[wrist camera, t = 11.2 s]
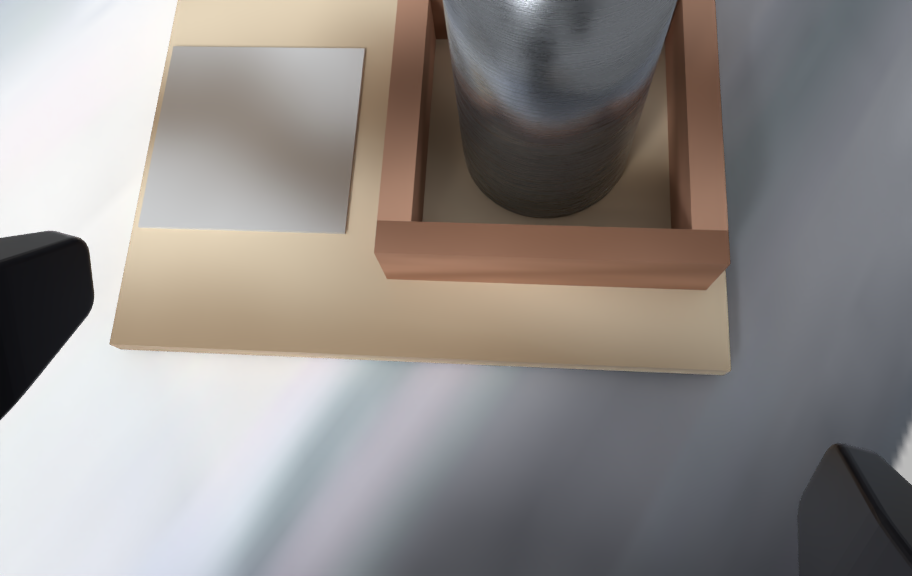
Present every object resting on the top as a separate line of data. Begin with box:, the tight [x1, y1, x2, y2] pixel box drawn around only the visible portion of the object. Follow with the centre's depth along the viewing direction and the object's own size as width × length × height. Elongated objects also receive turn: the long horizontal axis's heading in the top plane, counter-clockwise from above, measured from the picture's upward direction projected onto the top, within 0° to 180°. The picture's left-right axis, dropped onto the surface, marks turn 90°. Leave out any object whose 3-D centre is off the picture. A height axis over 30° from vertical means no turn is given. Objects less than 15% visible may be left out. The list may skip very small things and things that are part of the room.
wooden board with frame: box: [110, 0, 731, 375], centre depth 19 cm, size 12×16×3 cm
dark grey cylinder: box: [443, 0, 677, 218], centre depth 15 cm, size 4×4×9 cm
